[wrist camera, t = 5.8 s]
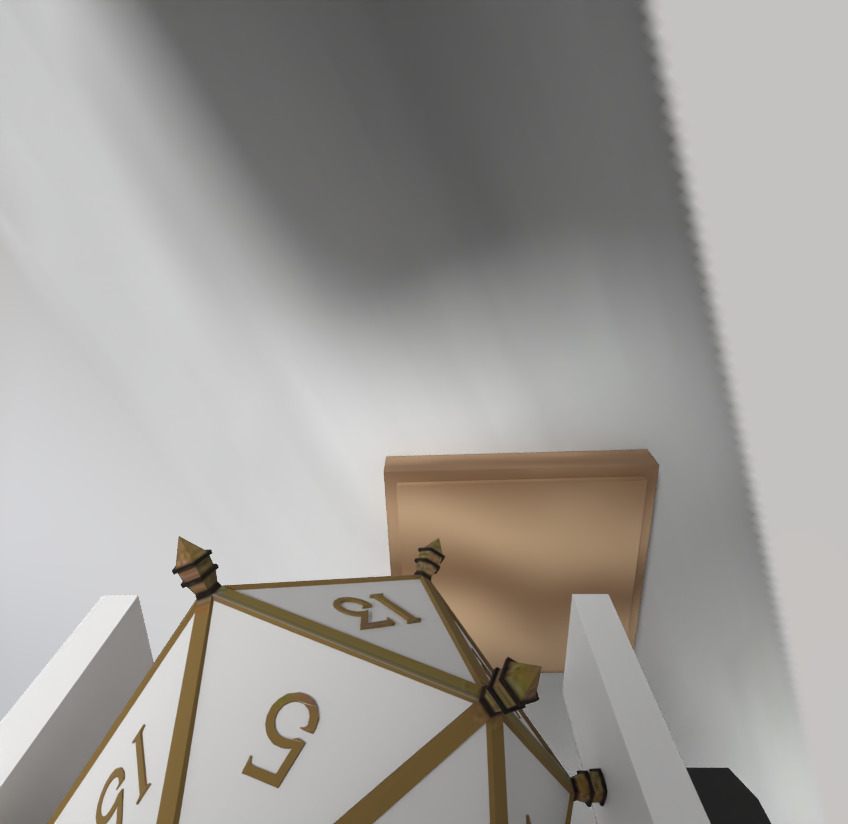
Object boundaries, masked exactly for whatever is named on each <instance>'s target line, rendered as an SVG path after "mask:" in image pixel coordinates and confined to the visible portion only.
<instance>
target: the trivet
mask: <svg viewBox="0 0 848 824" xmlns="http://www.w3.org/2000/svg"><path fill="white" fill-rule="evenodd" d="M658 469H659V464H658V463H657V461H656V460H655V459H654V457H653V456H652V455H651V454H650V452H649V451H648V450H611V451H575V452H538V453H502V454H465V455H429V456H392V457H386V461H385V467H384V482H385V496H386V510H387V524H388V538H389V552H390V566H391V576H402V575H414V573H415V572H416V563H415V561H414V560H415V558H418V556H419V554H420V552H419V551H418V549H419V548H424V547H425V546H427V545H428V544H430V543H431V542H433V541H434V540H436V539H438V538H439V540H440V544H441V549H442V553H443V555H444V556H445V558H444V560H443V561H442V563H441V564H439V566H441V567H440V569H439V571H438V572H437V574H433V576H432V577H431V582H432V583H433V585H434V586H435V587H436V589H437V590H438V592H439V593H440V594H441V596H442V597H443V599H444V600H445V602H446V603H447V604H448V606H449V607H450V609H451V610H452V611H453V613H454V614H455V616H456V617H457V619H458V620H459V621H460V623H461V624H462V626H463V627H464V628H465V630H466V631H467V633H468V634H469V635H470V637H471V638H472V640H473V641H474V643H475V644H476V645H477V647H478V648H479V650H480V651H481V652H482V654H483V655H484V657H485V658H486V659H487V661H488V662H489V664H490V665H491V667H492V668H493V669H495V668H496V667H498V668H499V669H501V668H503V665H504V662H505V659H506V658H507V657H509V658H511V659H513V660H515V661H516V662H518V663H524V664H530V665H536V666H542V667H541V672H540V673H560V672H564V671H565V661H566V651H567V641H568V631H569V621H570V612H571V602H572V594H609V596H610V599H611V601H612V603H613V605H614V608H615V610H616V612H617V614H618V617H619V619H620V621H621V623H622V626H623V628H624V630H625V632H626V635H627V637H628V639H629V641H630V644H631V646H632V648H633V650H634V644H635V637H636V630H637V622H638V615H639V608H640V600H641V593H642V586H643V578H644V571H645V564H646V557H647V549H648V542H649V535H650V527H651V520H652V513H653V506H654V498H655V491H656V484H657V476H658Z"/></svg>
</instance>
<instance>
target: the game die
mask: <svg viewBox="0 0 848 824" xmlns="http://www.w3.org/2000/svg"><path fill="white" fill-rule="evenodd" d="M418 551H419V552H420V554H419V556H418V558H415V560H414V561H415V563H416V572H415V573H414V575H402V576H385V577H367V578H349V579H332V580H314V581H296V582H279V583H261V584H243V585H227V586H221V585H220V584H219V583H218V582H217V576H216V569H217V568H218V565H217V564H213V562H212V560H211V558H210V556H209V555H210V554H212V551H211V550H204V549H202V548H200V547H198V546H196V545H194V544H192V543H191V542H189V541H187V540H185V539H183V538H181V537H179V540H178V549H177V560H176V566H175V568H174V569H173V570H172V572H173V574H176V573H178V574H179V576H180V577H181V579H182V581H183V582H182V584H181V586H182V588H184V587H188V588H189V589H190V590H191V591H192V592H193V593H194V594H195V595H196V598H197V599H196V601H195V602H194V604H193V605H192V607H191V608H190V610H189V611H188V613H187V614H186V616H185V617H184V619H183V620H182V622H181V623H180V625H179V626H178V628H177V629H176V631H175V632H174V634H173V635H172V637H171V638H170V640H169V641H168V643H167V644H166V646H165V647H164V649H163V650H162V652H161V653H160V655H159V656H158V658H157V659H156V661H155V662H154V664H153V665H152V667H151V668H150V670H149V671H148V673H147V674H146V676H145V677H144V679H143V680H142V682H141V683H140V685H139V686H138V688H137V689H136V691H135V692H134V694H133V695H132V697H131V698H130V700H129V701H128V703H127V704H126V706H125V707H124V709H123V710H122V712H121V713H120V715H119V716H118V718H117V719H116V721H115V722H114V724H113V725H112V727H111V728H110V730H109V731H108V733H107V734H106V736H105V737H104V739H103V740H102V742H101V743H100V745H99V746H98V748H97V749H96V751H95V752H94V754H93V755H92V757H91V758H90V760H89V761H88V763H87V764H86V766H85V767H84V769H83V770H82V772H81V773H80V775H79V776H78V778H77V779H76V781H75V782H74V784H73V785H72V787H71V788H70V790H69V791H68V793H67V794H66V796H65V797H64V799H63V800H62V802H61V803H60V805H59V806H58V808H57V809H56V811H55V812H54V814H53V815H52V817H51V818H50V820H49V821H48V823H47V824H570V821H571V814H572V808H573V801H576V800H578V801H582V802H585V803H586V805H587V806H588V807H591V805H592V803H599V804H600V806H604V804H605V801H606V798H607V792H608V791H607V787H606V783H605V780H604V777H603V773H602V771H601V768H593V769H589V772H588V770H585V771H577V775H575V776H573V777H571V778H570V777H569V775H568V774H567V772H566V771H565V770H564V768H563V767H562V765H561V764H560V763H559V761H558V760H557V758H556V757H555V756H554V754H553V753H552V751H551V750H550V748H549V747H548V746H547V744H546V743H545V741H544V740H543V739H542V737H541V736H540V734H539V733H538V732H537V730H536V729H535V727H534V726H533V724H532V723H531V722H530V720H529V719H528V717H527V716H526V715H525V713H524V712H523V710H522V709H523V708H525V705H526V704H529V703H532V702H535V701H537V700H539V697H538V694H537V687H538V682H539V677H540V672H541V667H542V666H536V665H530V664H524V663H518V662H516V661H515V660H513V659H511V658H509V657H507V658H506V659H505V662H504V665H503V668H501V669H499V668H498V667H496V668H495V669H493V668H492V667H491V665H490V664H489V662H488V661H487V659H486V658H485V657H484V655H483V654H482V652H481V651H480V650H479V648H478V647H477V645H476V644H475V643H474V641H473V640H472V638H471V637H470V635H469V634H468V633H467V631H466V630H465V628H464V627H463V626H462V624H461V623H460V621H459V620H458V619H457V617H456V616H455V614H454V613H453V611H452V610H451V609H450V607H449V606H448V604H447V603H446V602H445V600H444V599H443V597H442V596H441V594H440V593H439V592H438V590H437V589H436V587H435V586H434V585H433V583H432V582H431V577H432V576H433V574H437V572H438V571H439V569H440V567H441V566H439V564H441V563H442V561H443V560H444V558H445V556H444V555H443V553H442V549H441V544H440V540H439V538H438V539H436V540H434V541H433V542H431V543H430V544H428V545H427V546H425V547H424V548H419V549H418Z"/></svg>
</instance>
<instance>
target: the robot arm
mask: <svg viewBox="0 0 848 824" xmlns="http://www.w3.org/2000/svg"><path fill="white" fill-rule="evenodd" d="M153 664H154V662H153V658H152V653H151V649H150V645H149V640H148V636H147V632H146V627H145V623H144V619H143V614H142V610H141V605H140V601H139V597H138V595H103V596H102V597H101V598H100V599H99V600H98V602H97V603H96V604H95V605H94V607H93V608H92V609H91V610H90V612H89V613H88V614H87V615H86V617H85V618H84V619H83V620H82V622H81V623H80V624H79V625H78V627H77V628H76V629H75V630H74V632H73V633H72V634H71V635H70V637H69V638H68V639H67V640H66V641H65V643H64V644H63V645H62V646H61V648H60V649H59V650H58V651H57V653H56V654H55V655H54V656H53V658H52V659H51V660H50V661H49V662H48V664H47V665H46V666H45V667H44V669H43V670H42V671H41V672H40V674H39V675H38V676H37V677H36V679H35V680H34V681H33V682H32V684H31V685H30V686H29V687H28V689H27V690H26V691H25V692H24V693H23V695H22V696H21V697H20V698H19V700H18V701H17V702H16V703H15V705H14V706H13V707H12V708H11V710H10V711H9V712H8V713H7V715H6V716H5V717H4V718H3V719H2V721H1V722H0V824H47V823H48V821H49V820H50V818H51V817H52V815H53V814H54V812H55V811H56V809H57V808H58V806H59V805H60V803H61V802H62V800H63V799H64V797H65V796H66V794H67V793H68V791H69V790H70V788H71V787H72V785H73V784H74V782H75V781H76V779H77V778H78V776H79V775H80V773H81V772H82V770H83V769H84V767H85V766H86V764H87V763H88V761H89V760H90V758H91V757H92V755H93V754H94V752H95V751H96V749H97V748H98V746H99V745H100V743H101V742H102V740H103V739H104V737H105V736H106V734H107V733H108V731H109V730H110V728H111V727H112V725H113V724H114V722H115V721H116V719H117V718H118V716H119V715H120V713H121V712H122V710H123V709H124V707H125V706H126V704H127V703H128V701H129V700H130V698H131V697H132V695H133V694H134V692H135V691H136V689H137V688H138V686H139V685H140V683H141V682H142V680H143V679H144V677H145V676H146V674H147V673H148V671H149V670H150V668H151V667H152V665H153ZM562 693H563V697H564V701H565V705H566V708H567V712H568V716H569V720H570V723H571V727H572V731H573V735H574V738H575V742H576V746H577V750H578V754H579V757H580V761H581V765H582V769H583V771H585V770H588V772H589V769H593V768H601V771H602V773H603V777H604V780H605V783H606V787H607V791H608V792H607V798H606V801H605V804H604V806H600V804H599V803H592V806H593V810H594V814H595V818H596V821H597V824H771V822H770V821H769V819H768V817H767V815H766V813H765V811H764V809H763V808H762V806H761V804H760V802H759V800H758V799H757V798H756V797H755V796H754V795H753V794H752V792H751V791H750V790H749V789H748V788H747V787H746V786H745V785H744V784H743V783H742V782H741V781H740V780H739V779H738V778H737V777H736V776H735V775H734V773H733V772H732V771H731V770H730V769H729V768H686V767H685V765H684V763H683V760H682V758H681V756H680V754H679V751H678V749H677V747H676V745H675V742H674V740H673V738H672V736H671V733H670V731H669V729H668V727H667V724H666V722H665V720H664V718H663V716H662V713H661V711H660V709H659V707H658V704H657V702H656V700H655V698H654V695H653V693H652V691H651V689H650V686H649V684H648V682H647V680H646V677H645V675H644V673H643V671H642V668H641V666H640V664H639V662H638V659H637V657H636V655H635V653H634V650H633V648H632V646H631V644H630V641H629V639H628V637H627V635H626V632H625V630H624V628H623V626H622V623H621V621H620V619H619V617H618V614H617V612H616V610H615V608H614V605H613V603H612V601H611V599H610V596H609V594H572V602H571V612H570V621H569V631H568V641H567V651H566V661H565V671H564V680H563V690H562Z"/></svg>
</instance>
